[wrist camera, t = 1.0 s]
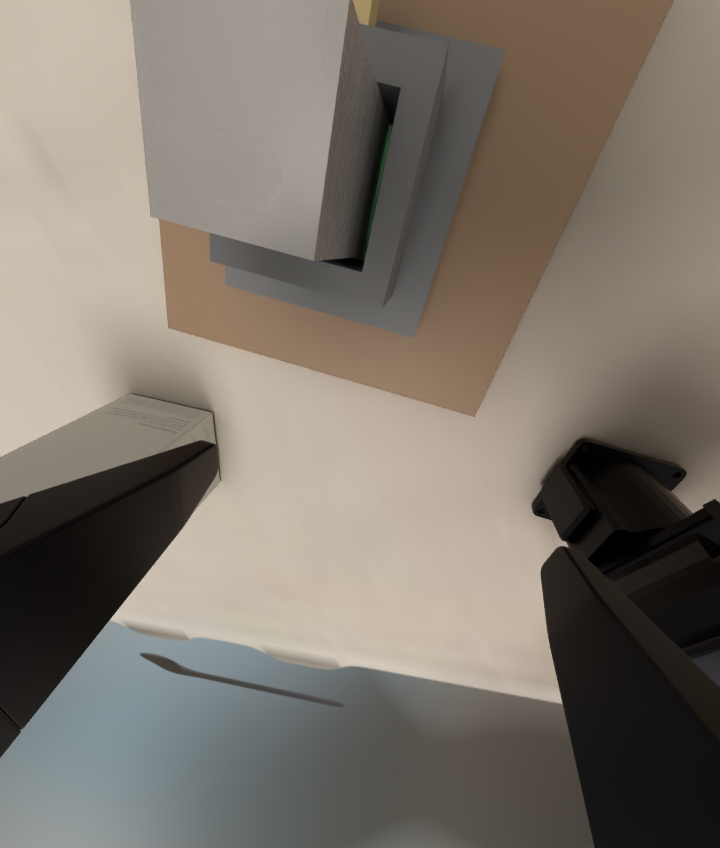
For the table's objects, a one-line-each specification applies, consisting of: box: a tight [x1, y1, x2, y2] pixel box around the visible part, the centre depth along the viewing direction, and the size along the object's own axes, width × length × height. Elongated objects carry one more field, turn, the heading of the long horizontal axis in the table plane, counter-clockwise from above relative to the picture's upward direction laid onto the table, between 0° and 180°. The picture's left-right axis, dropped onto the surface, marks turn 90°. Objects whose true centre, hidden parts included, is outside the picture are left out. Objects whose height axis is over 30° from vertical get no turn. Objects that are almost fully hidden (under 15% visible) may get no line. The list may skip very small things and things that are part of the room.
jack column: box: [130, 0, 393, 261], centre depth 11 cm, size 4×4×10 cm
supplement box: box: [0, 394, 220, 511], centre depth 21 cm, size 7×7×13 cm
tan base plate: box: [159, 0, 673, 417], centre depth 13 cm, size 20×18×7 cm
